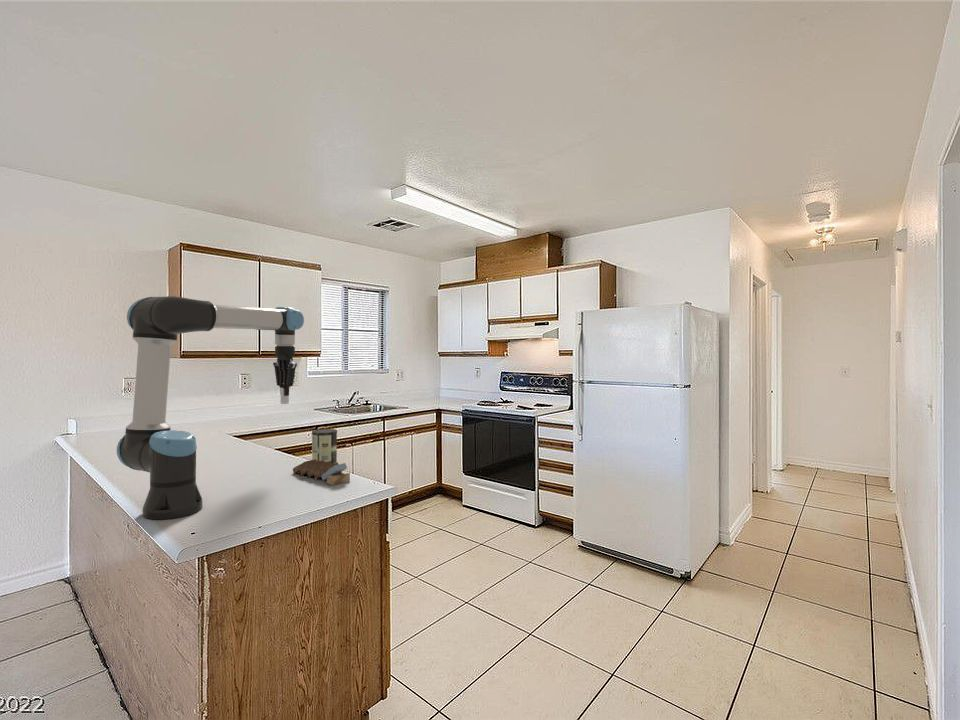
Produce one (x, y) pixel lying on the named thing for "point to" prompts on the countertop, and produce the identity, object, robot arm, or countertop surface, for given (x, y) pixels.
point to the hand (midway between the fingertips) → (284, 403)
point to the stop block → (338, 478)
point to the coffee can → (324, 445)
